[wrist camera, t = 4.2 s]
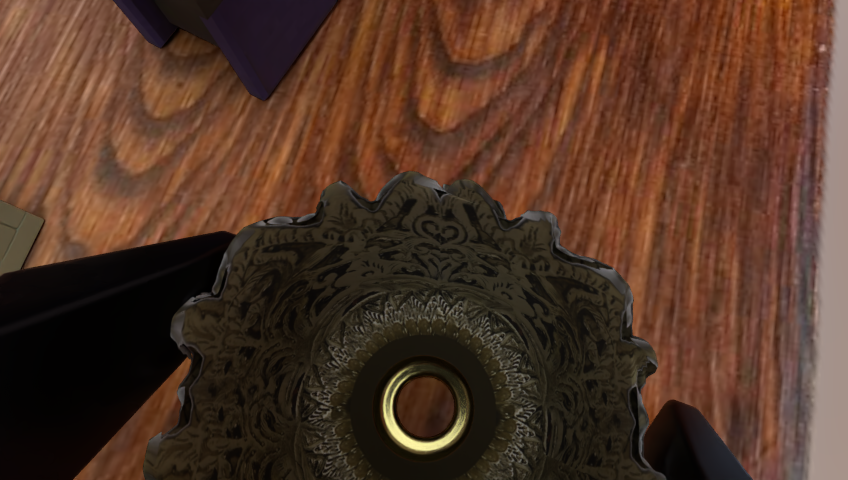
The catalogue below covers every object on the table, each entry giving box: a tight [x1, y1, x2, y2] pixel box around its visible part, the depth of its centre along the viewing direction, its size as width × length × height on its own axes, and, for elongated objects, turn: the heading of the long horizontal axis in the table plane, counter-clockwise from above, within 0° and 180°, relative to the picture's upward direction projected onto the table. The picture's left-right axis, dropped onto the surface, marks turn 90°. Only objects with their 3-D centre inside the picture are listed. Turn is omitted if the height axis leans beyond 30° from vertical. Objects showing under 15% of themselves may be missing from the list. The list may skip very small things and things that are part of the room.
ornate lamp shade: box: [143, 171, 666, 480], centre depth 11 cm, size 8×7×8 cm
